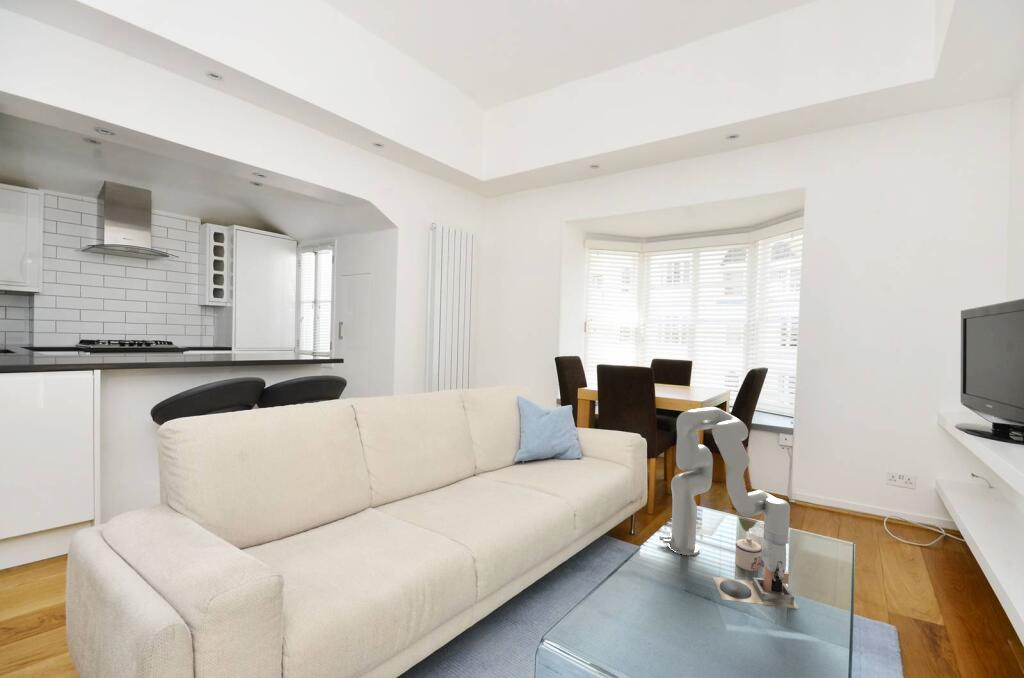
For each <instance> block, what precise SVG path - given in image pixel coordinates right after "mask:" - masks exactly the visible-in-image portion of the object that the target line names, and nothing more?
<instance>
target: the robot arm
mask: <svg viewBox="0 0 1024 678" xmlns="http://www.w3.org/2000/svg"><path fill="white" fill-rule="evenodd" d="M704 430H711V434H712V436H713V439H714V442H715V444H716V446H717V448H718V451H719V452H720V455H721V457H722V459H723V462H724V464H725V467H726V472H725V482H726V483H725V485H726V490H727V493H728V496H729V498H730V500H731V503H732V504H733V506H734V508H735V510H736V511H737V512H738V514H740V515H741V516H742V517H747V518H748V517H749V518H750V517H754V516H757V515H759V514H764V517H763V519H764V521H763V529H764V534H763V538H764V540H763V547H762V560H761V561H762V562H763V565H764V564H765V565H766V567H767V568H768V570H769V571H770V572H772V573H773V579H772V583H771V590H772V591H773V592H782V582H783V578H784V573H785V572H786V568H787V544H788V543H789V536H790V533H789V531H790V516H791V505H790V504H789V502H788V501H787V500H785V499H782V498H779V497H775V496H773V495H772V494H770V493H769V492H767V491H764V490H762V489H757V490H753V491H749V492H748V491H747V488H746V485H745V483H744V475H745V471H746V469H747V468H748V466H749V464H750V463H751V459H750V457H749V455H748V452H747V450H746V448H745V446H744V444H743V441H745V440H747V438H748V437H749V430H748V427H747V425H746V424H745V422H743V421H742V420H741V419H739V418H737V417H736V416H734V415H732V414H730V413H729V412H726V411H724V410H723V409H721V408H719V407H714V406H709V407H700V408H693V409H692V408H691V409H689V410H685V411H683V412H681V413H680V414H679V415H678V416H677V418H676V450H675V451H676V452H675V462H676V463H675V464H676V466H677V468H678V469H680V470H681V471H684V472H681V473H678V474H675V475H674V476H673V477H672V479H671V482H670V489H671V495H672V505H671V506H672V511H671V513H672V514H671V531H670V532H671V533H670V532H669V535H660V534H659V541H662V543H664V544H667V543H669V544H670V547H671V549H673V550H674V551H676V552H677V553H679V554H678V555H680V554H682V555H681V556H686V555H687V556H688V557H689V556H695V555H698V554H699V553H700V546H699V545H698V544H697V543H696V540H697V523H698V522H697V518H698V516H697V515H698V513H697V512H698V506H697V503H696V501H695V496H699V495H701V494H704V493H707V492H708V491H710V490H711V486H712V481H713V467H714V466H713V465H714V458H713V454H712V452H711V451H710V448H709V447H707V446H706V445H704V444H700V435H699V433H698V431H704ZM677 553H676V554H677ZM776 569H778V571H775V570H776ZM775 573H779V574H778V576H775Z"/></svg>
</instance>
